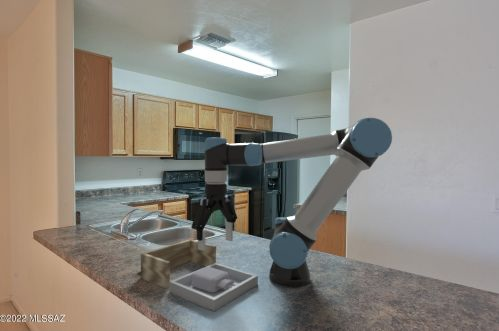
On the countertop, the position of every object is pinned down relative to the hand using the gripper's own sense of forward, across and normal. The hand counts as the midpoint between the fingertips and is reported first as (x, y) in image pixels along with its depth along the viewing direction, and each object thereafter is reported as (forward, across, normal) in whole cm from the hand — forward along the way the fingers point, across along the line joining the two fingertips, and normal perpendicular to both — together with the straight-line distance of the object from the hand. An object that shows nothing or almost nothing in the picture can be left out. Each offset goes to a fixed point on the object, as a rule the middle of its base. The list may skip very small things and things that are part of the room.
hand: (216, 244), depth 99 cm
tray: (+15, 0, 0) cm, 15 cm away
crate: (+15, -2, -21) cm, 26 cm away
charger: (+15, 0, 0) cm, 15 cm away
